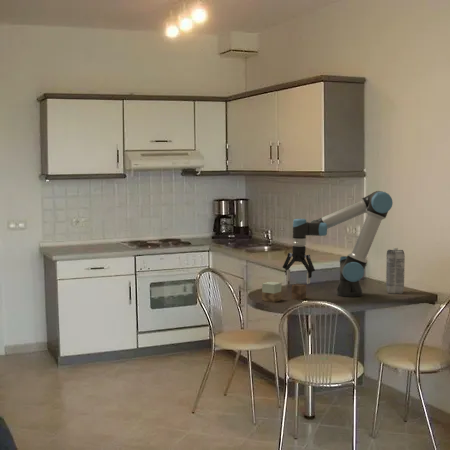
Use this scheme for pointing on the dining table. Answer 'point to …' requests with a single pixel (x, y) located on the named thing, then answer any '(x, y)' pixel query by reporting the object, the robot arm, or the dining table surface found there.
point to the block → (299, 291)
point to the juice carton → (395, 271)
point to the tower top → (271, 287)
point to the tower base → (271, 296)
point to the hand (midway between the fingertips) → (298, 282)
